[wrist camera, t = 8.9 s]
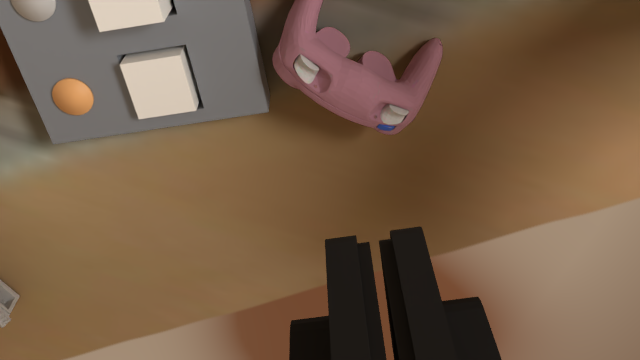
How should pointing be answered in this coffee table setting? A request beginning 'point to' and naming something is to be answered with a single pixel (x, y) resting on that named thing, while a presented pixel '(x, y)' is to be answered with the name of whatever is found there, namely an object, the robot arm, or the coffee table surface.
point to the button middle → (128, 13)
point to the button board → (110, 49)
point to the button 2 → (161, 81)
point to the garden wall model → (6, 303)
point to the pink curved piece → (352, 73)
